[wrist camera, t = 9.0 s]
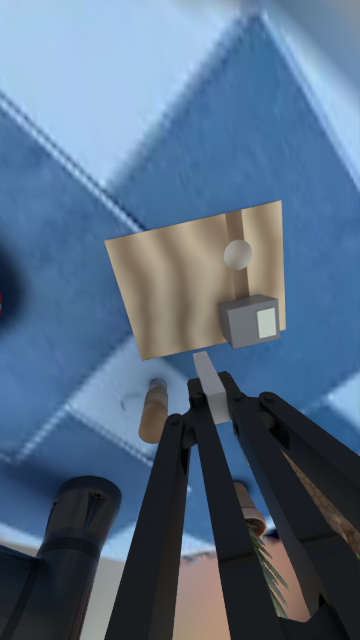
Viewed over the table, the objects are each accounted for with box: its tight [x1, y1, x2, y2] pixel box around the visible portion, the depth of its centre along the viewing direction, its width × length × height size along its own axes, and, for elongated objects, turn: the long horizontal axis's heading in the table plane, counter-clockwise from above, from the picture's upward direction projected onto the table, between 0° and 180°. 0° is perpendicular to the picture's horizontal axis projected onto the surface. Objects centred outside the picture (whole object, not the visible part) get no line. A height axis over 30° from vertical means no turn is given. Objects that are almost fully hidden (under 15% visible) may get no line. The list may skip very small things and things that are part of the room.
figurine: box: [237, 437, 360, 560], centre depth 26 cm, size 14×11×25 cm
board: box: [105, 201, 286, 361], centre depth 28 cm, size 26×20×2 cm
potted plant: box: [233, 482, 289, 619], centre depth 31 cm, size 10×10×25 cm
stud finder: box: [218, 294, 280, 349], centre depth 26 cm, size 7×6×5 cm
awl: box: [139, 379, 168, 444], centre depth 29 cm, size 4×4×10 cm
